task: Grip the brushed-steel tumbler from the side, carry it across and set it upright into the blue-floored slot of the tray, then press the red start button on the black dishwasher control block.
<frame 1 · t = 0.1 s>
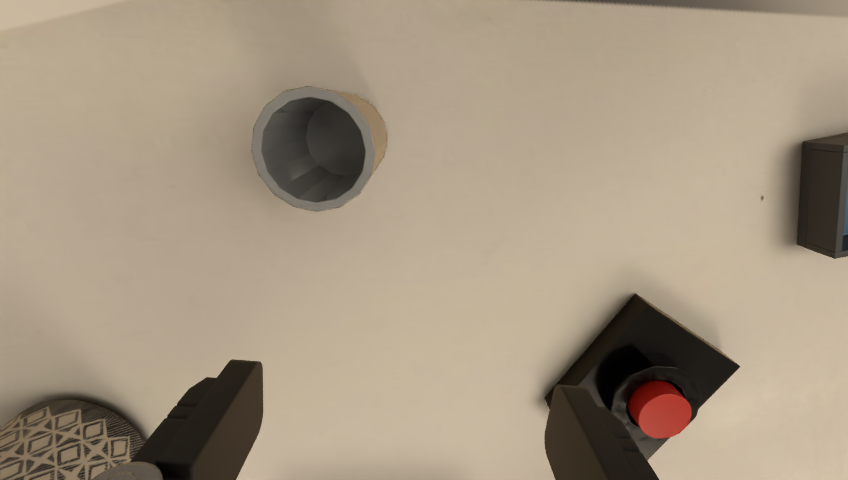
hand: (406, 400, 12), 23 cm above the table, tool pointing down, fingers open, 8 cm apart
tumbler: (344, 137, 32), on the table
start button: (659, 409, 34), point 4 cm above the table, slide at 0.1 cm
control block: (632, 375, 38), on the table
planter: (91, 449, 40), on the table
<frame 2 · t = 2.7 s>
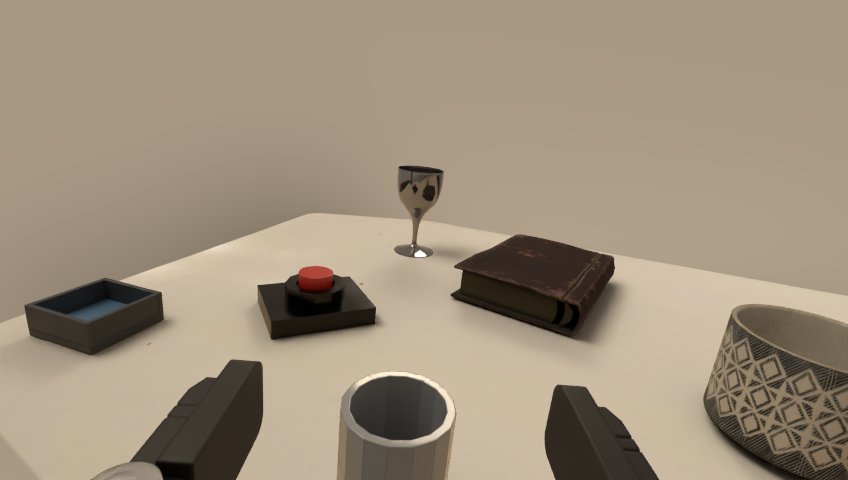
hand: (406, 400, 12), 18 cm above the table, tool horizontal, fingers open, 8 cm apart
tray: (100, 326, 47), on the table
diary: (535, 290, 69), on the table
start button: (315, 278, 53), point 4 cm above the table, slide at 0.1 cm
wine glass: (413, 251, 81), on the table
control block: (314, 312, 54), on the table
planter: (779, 441, 40), on the table
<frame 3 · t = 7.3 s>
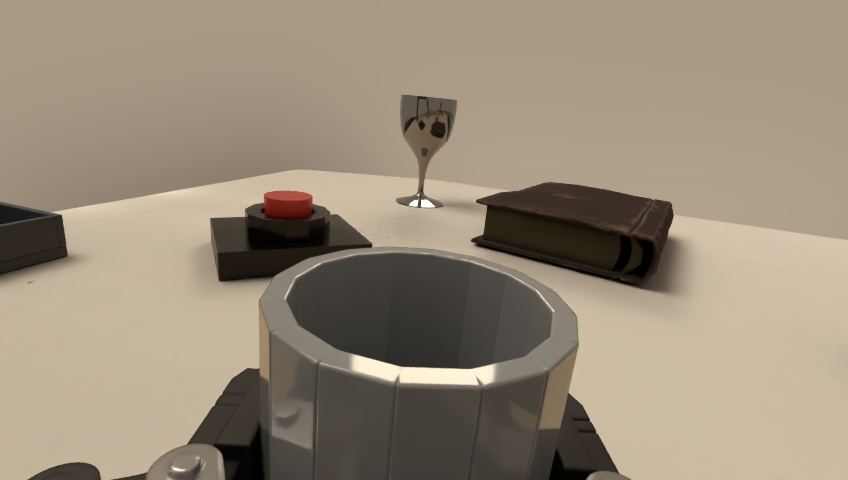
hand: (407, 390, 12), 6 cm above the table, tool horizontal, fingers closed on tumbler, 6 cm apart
diary: (576, 241, 54), on the table
start button: (288, 205, 38), point 4 cm above the table, slide at 0.1 cm
wine glass: (419, 203, 66), on the table
control block: (288, 253, 39), on the table
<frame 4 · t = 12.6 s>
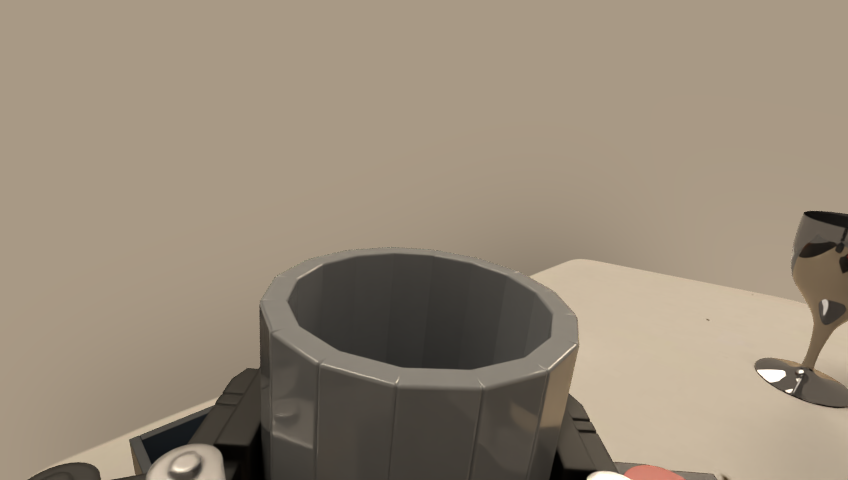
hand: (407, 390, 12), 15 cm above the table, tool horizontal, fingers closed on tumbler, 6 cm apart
wine glass: (800, 382, 40), on the table
when the fingers open (7 cm above the table, at t = 18.4 s): tumbler stays where it is, resting on tray.
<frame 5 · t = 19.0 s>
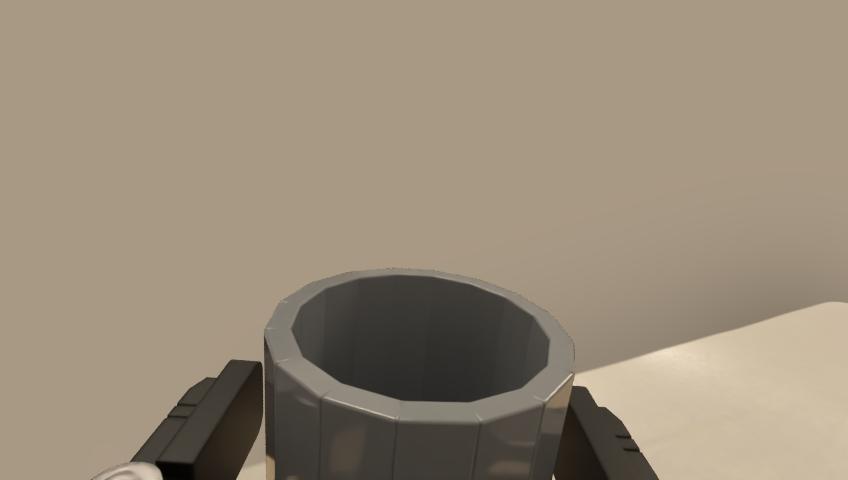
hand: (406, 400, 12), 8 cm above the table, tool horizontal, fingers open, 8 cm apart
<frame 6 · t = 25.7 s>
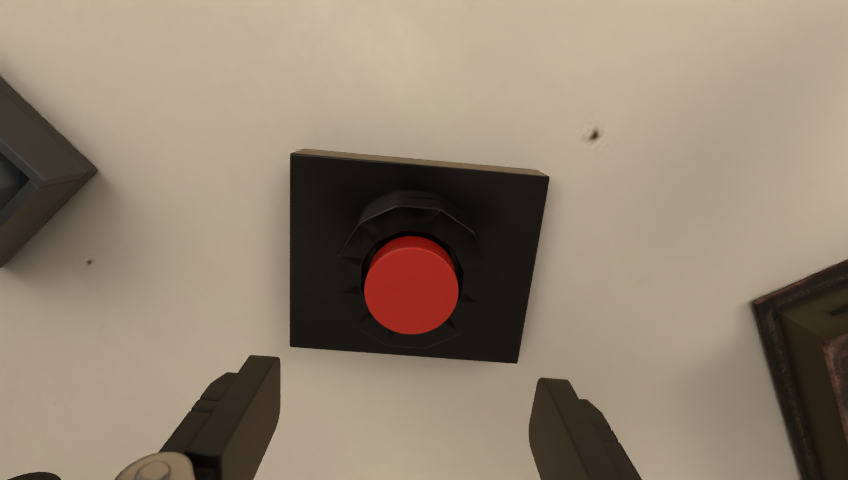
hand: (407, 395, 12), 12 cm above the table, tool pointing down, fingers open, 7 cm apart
start button: (411, 284, 19), point 4 cm above the table, slide at 0.1 cm
control block: (413, 252, 24), on the table
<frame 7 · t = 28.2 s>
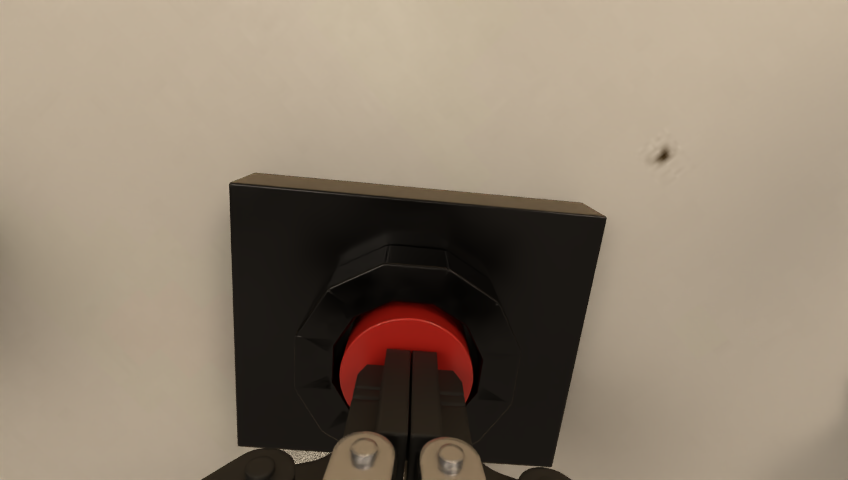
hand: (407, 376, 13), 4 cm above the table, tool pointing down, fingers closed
start button: (407, 362, 14), point 4 cm above the table, slide at -0.8 cm, touching gripper
control block: (409, 312, 17), on the table
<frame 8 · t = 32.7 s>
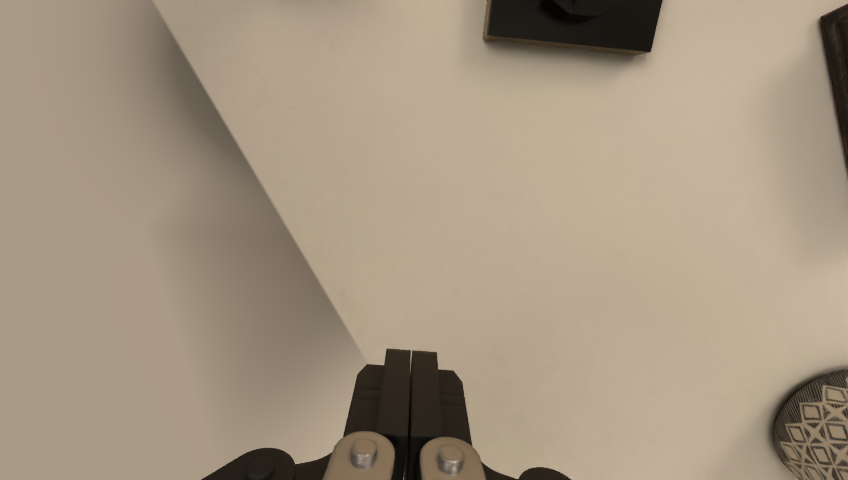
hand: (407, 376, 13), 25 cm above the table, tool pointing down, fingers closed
planter: (827, 415, 44), on the table
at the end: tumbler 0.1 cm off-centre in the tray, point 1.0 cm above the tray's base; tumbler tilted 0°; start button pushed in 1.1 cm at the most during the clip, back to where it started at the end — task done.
